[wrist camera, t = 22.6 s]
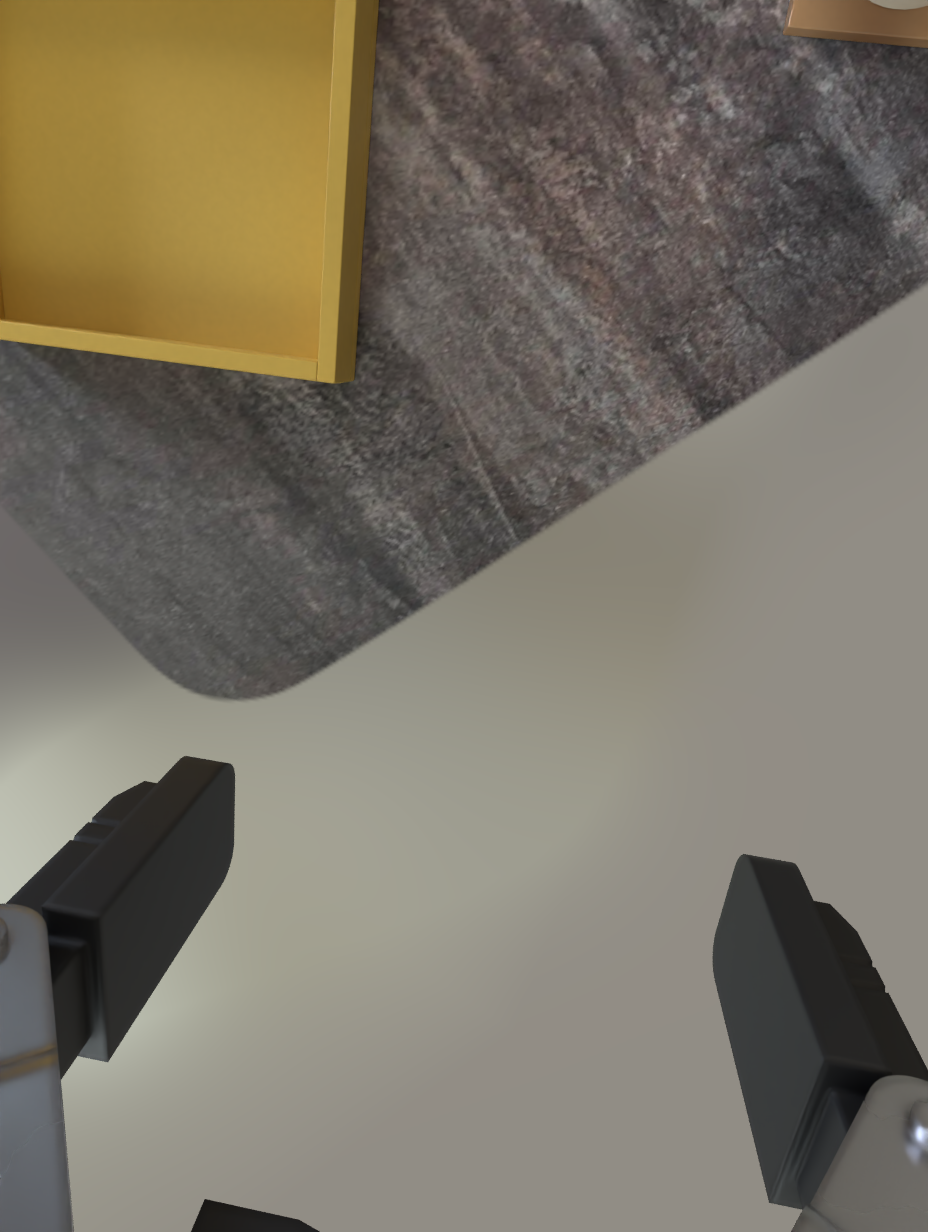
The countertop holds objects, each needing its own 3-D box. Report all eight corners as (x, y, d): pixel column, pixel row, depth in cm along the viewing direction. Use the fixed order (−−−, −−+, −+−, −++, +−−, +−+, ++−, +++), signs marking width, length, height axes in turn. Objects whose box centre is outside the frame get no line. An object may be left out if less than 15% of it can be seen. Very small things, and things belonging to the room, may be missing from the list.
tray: (381, -26, 30) (360, -70, 27) (354, 381, 35) (334, 383, 32) (-32, -63, 31) (-97, -108, 28) (2, 334, 37) (-49, 333, 33)
